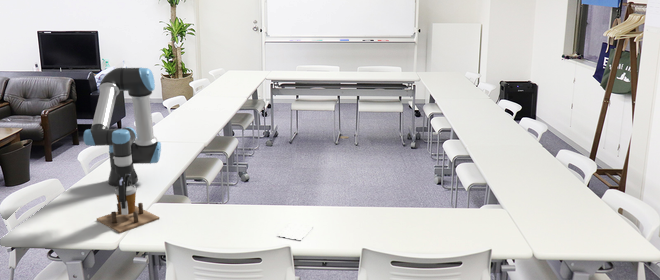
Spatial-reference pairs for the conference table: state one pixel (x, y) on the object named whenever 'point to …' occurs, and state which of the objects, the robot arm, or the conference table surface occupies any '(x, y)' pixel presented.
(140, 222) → the holder
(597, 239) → the conference table surface
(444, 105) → the conference table surface
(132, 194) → the disposable coffee cup
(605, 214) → the conference table surface
